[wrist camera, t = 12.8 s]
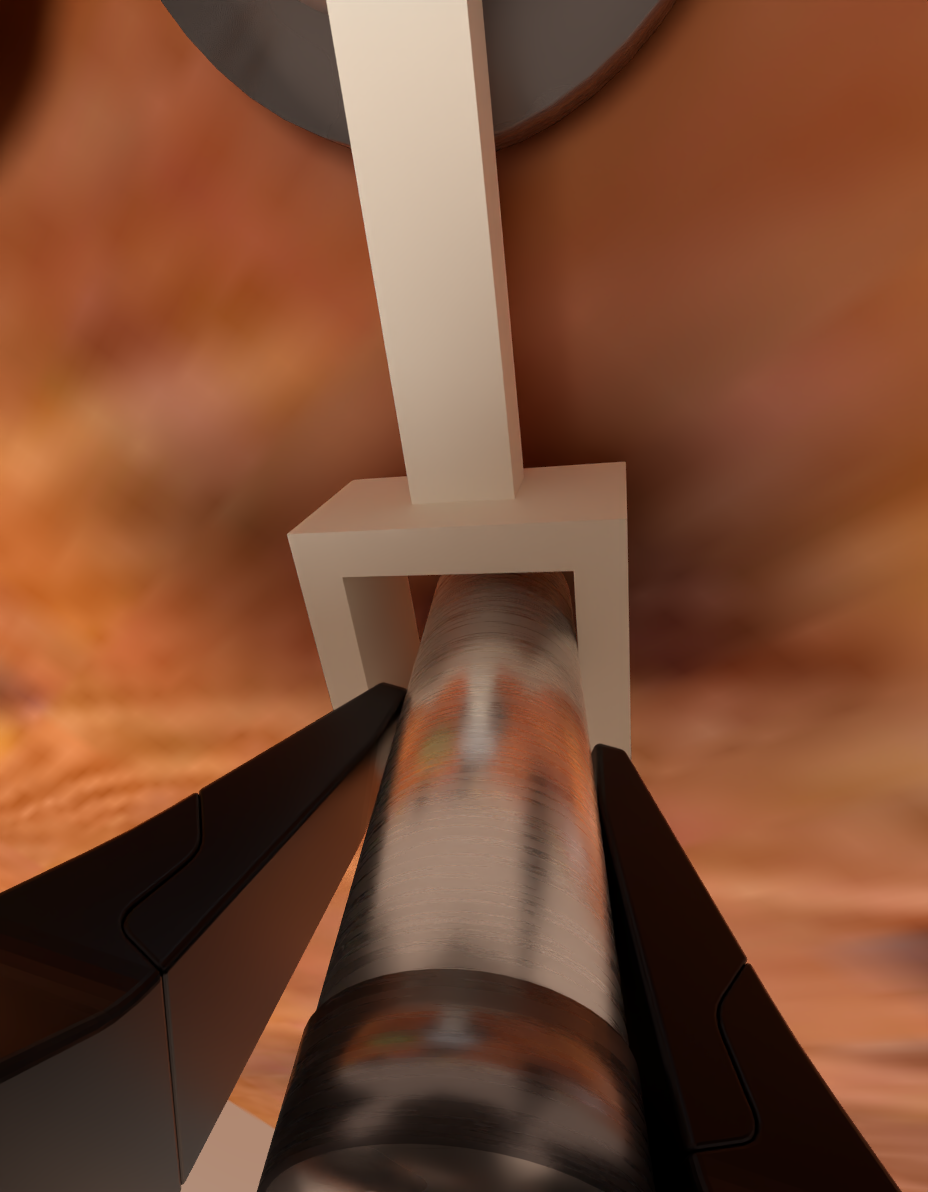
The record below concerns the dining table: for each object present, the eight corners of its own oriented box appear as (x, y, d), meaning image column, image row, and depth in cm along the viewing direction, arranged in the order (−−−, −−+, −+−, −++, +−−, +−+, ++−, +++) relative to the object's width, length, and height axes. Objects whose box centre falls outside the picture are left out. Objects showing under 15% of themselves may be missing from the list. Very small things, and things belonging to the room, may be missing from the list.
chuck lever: (42, -694, 7) (-279, -1222, 5) (693, -1106, 6) (757, -2299, 3) (367, 696, 16) (316, 783, 13) (667, 703, 14) (678, 804, 11)
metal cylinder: (564, 528, 11) (650, 1140, 3) (581, 656, 13) (674, 1331, 5) (417, 550, 12) (193, 1137, 4) (447, 671, 13) (320, 1313, 5)
